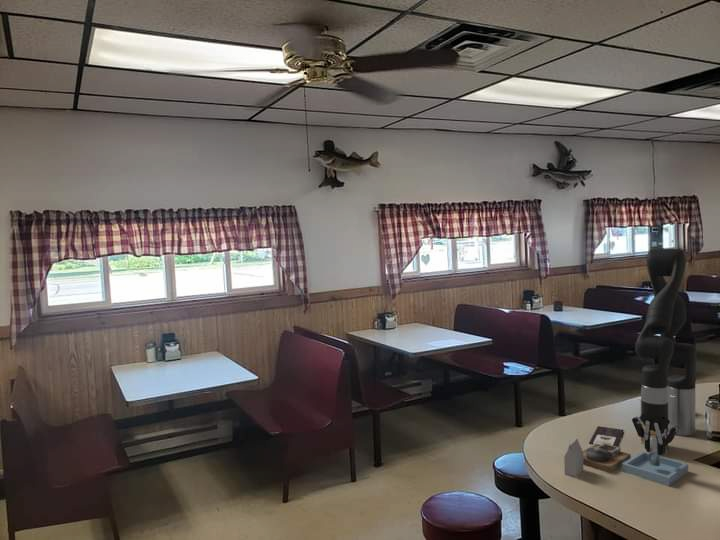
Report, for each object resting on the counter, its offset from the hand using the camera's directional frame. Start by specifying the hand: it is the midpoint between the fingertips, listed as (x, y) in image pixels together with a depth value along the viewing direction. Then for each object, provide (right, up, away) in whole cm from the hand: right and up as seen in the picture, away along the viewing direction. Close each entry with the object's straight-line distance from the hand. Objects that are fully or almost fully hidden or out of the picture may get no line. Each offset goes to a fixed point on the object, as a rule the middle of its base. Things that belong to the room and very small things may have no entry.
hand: (654, 452), depth 173 cm
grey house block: (-24, -7, +3) cm, 26 cm away
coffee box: (+9, -5, +18) cm, 21 cm away
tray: (0, -6, 0) cm, 6 cm away
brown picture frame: (-2, -5, +29) cm, 30 cm away
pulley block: (-12, -6, +10) cm, 17 cm away
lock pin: (0, -4, 0) cm, 4 cm away
